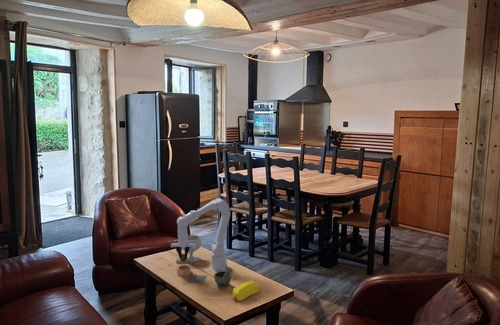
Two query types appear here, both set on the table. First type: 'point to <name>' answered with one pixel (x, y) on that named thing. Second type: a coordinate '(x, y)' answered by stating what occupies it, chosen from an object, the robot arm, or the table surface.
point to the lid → (183, 260)
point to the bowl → (183, 270)
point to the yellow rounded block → (245, 290)
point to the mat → (196, 279)
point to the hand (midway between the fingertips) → (183, 258)
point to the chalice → (194, 240)
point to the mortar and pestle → (223, 278)
